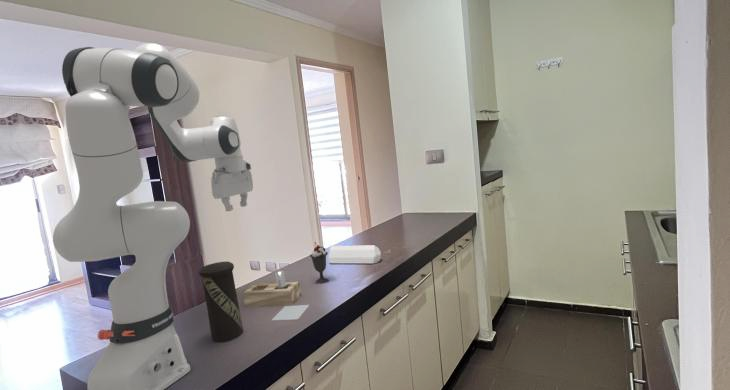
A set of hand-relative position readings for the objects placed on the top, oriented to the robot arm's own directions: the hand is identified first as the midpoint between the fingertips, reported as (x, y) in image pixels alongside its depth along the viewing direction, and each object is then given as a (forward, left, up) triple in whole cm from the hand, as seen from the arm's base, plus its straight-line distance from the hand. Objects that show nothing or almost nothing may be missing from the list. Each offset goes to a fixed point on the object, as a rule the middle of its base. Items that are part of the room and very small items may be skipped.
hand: (236, 208), depth 129 cm
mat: (-14, -20, -31) cm, 40 cm away
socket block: (-4, -10, -31) cm, 33 cm away
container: (-27, -7, -31) cm, 42 cm away
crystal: (+37, -28, -32) cm, 56 cm away
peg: (-4, -14, -31) cm, 34 cm away
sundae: (+14, -21, -31) cm, 40 cm away
